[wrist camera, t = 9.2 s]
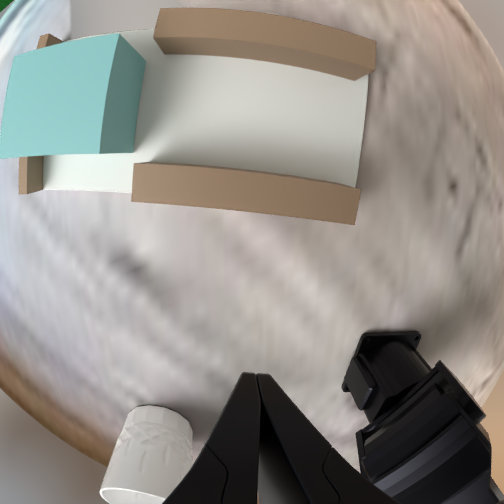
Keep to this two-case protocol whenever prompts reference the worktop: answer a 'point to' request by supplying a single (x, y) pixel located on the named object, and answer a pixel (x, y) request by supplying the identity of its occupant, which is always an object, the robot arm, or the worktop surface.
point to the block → (73, 99)
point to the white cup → (148, 457)
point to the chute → (234, 118)
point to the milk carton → (4, 4)
